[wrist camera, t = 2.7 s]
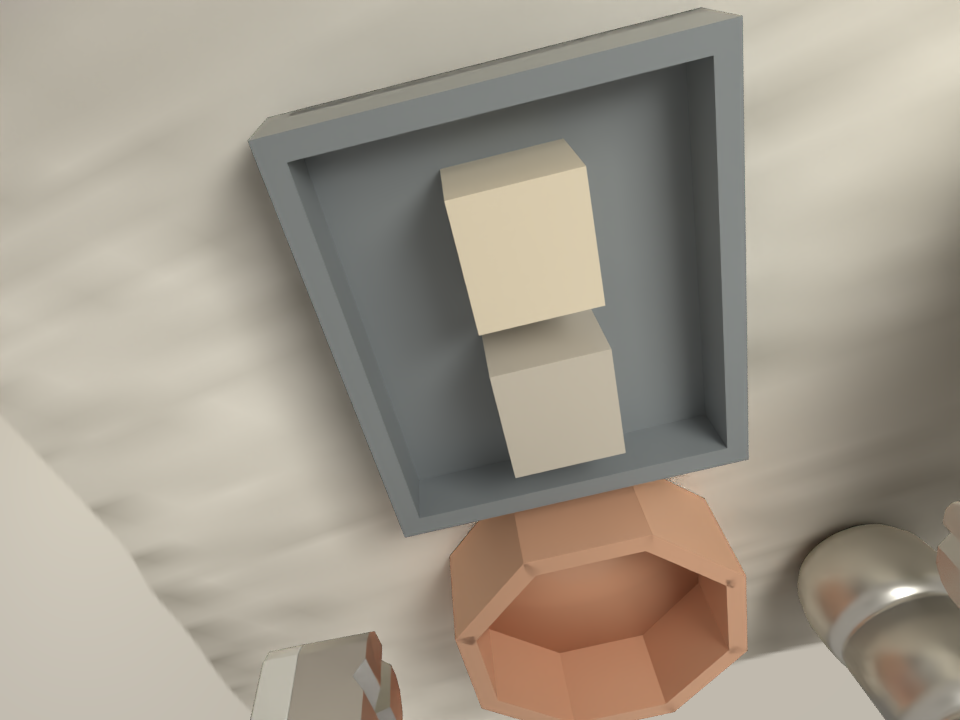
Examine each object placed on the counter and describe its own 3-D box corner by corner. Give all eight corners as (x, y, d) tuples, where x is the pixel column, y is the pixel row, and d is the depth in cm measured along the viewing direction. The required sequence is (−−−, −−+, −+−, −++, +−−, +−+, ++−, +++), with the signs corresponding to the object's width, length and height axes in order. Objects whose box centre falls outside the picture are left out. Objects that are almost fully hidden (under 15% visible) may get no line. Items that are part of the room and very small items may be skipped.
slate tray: (267, 117, 21) (247, 140, 18) (700, 7, 20) (742, 15, 18) (405, 485, 29) (405, 537, 27) (718, 413, 29) (748, 459, 26)
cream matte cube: (480, 330, 25) (489, 377, 22) (588, 304, 24) (611, 349, 22) (504, 424, 27) (515, 478, 24) (603, 401, 27) (625, 452, 24)
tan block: (439, 168, 21) (444, 200, 19) (563, 138, 21) (586, 165, 19) (470, 291, 24) (479, 335, 21) (582, 264, 24) (605, 305, 21)
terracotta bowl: (430, 501, 30) (433, 583, 26) (701, 439, 29) (745, 513, 25) (488, 664, 36) (497, 749, 32) (711, 615, 35) (748, 696, 32)
